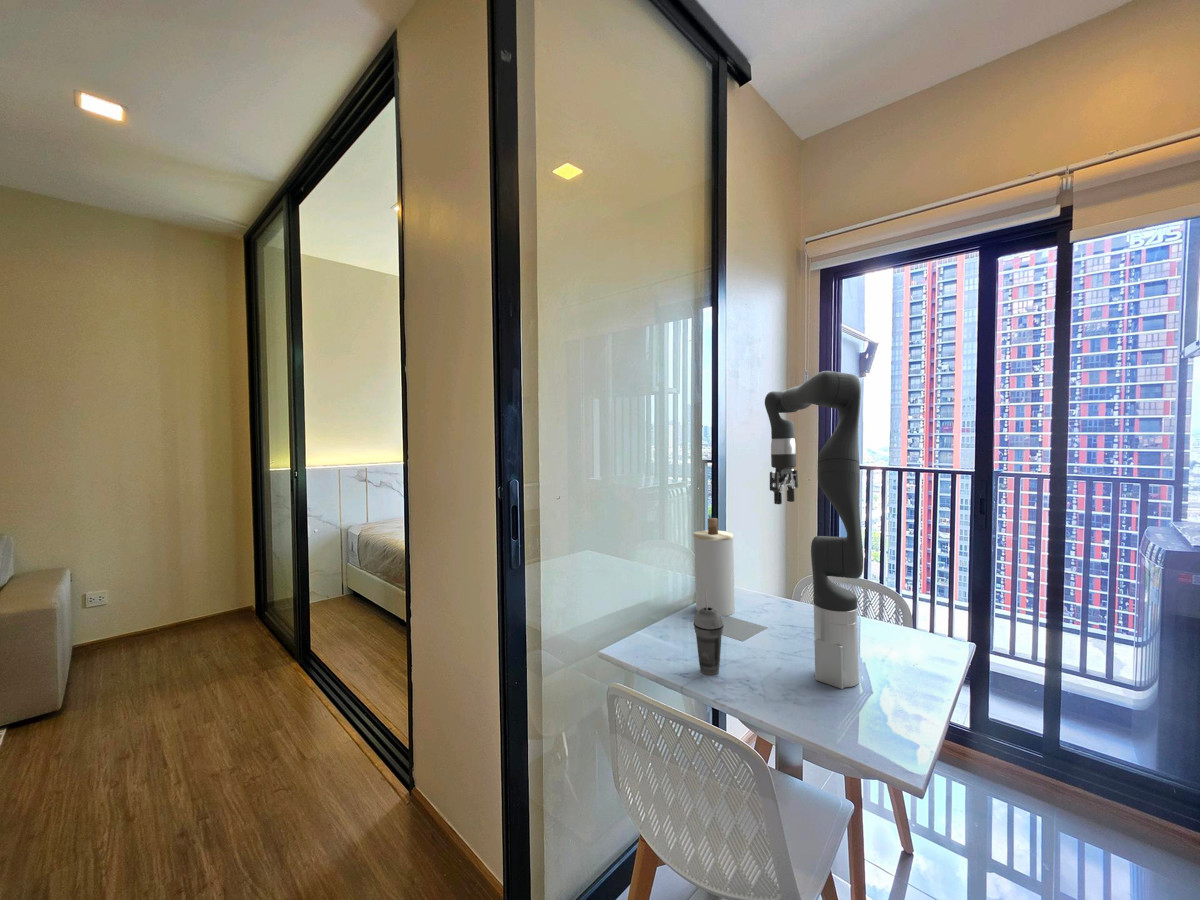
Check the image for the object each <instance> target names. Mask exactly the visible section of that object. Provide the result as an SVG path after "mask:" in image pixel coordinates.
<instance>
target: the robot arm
mask: <svg viewBox="0 0 1200 900" xmlns="http://www.w3.org/2000/svg"><path fill="white" fill-rule="evenodd" d="M861 401H862V386H861V381H860V378H859V377H858V376H857V375H855V374H853V373H847V372H846V373H845V372H841V371H833V370H824V371H820V372H817V373H815V374H814V375H813V376H812V377H810V378H808V379H807V380H806V381H804V382H803V383H802V384H800V385H796V386H793V387H790V388H788V389H786V390H781V391H780V390H778V391H777V390H775V391H774V390H773V391H770V392H768V393H767V394H766V395H765V398H764V407H765V409H766V413H767V417H768V419H769V420H768V421H769V424H770V430H771V433H770V434H771V443H770V461H771V462H770V463H771V464H770V465H771V468H773V469H775V471H770V472H769V491H771V492H773V503H774V504H775V505H782V503H783V499H782V497H783V496H782V495H783V493H782V491H783V488H785V487H786V501H787V502H791V503H793V502H795V490H796V489H798V488H799V479H798V478H799V477H798V476H799V475H798V470H797V469H793V468H796V467H797V447H796V440H795V439H796V438H795V437H796V436H795V424H794V423H795V422H794V421H792V420H789V419H785V418H782V416H781V413H782V414H787V413H789V414H791V413H797V412H798V411H800V410H801V411H802V410H805V409H807V408H809V407H810V406H812V405H816V406H818V407H821V408H829V409H836V410H837V411H838V412H837V413H838V417H837V424H836V426H835V427H836V428H835V429H834V431H833V432H832V434H831V436H829V439H828V440H827V441H826V442H825V444H824V445H823V447H822V448H821V450H820V451H819V453H818V456H817V482H818V485H819V487H820V489H821V491H822V493H823V495H825V497H826V498H827V500H828V501H829V502H830V504H831V505H832V506H833V508H834V509H835V511H836V513H837V514H838V516H839V518H840V519H841V521H842V523H843V526H844V529H845V532H846V536H844V537H843V536H830V535H829V536H828V535H826V536H825V535H817V536H814V537H813V539H812V541H811V545H810V558H811V569H812V586H813V587H812V588H813V589H812V590H813V591H812V593H813V595H812V596H813V597H812V598H813V601H812V602H813V637H814V640H813V641H814V642H813V644H814V677H815V678H814V679H815V681H818V682H821V683H824V684H827V685H829V686H832V687H835V688H838V689H841V690H844V689H845V688H851V687H855V686H857V685H859V682H860V677H859V676H860V673H859V672H860V669H859V667H860V666H859V637H858V636H859V631H858V629H859V628H858V627H859V626H858V599H857V596H856V594H855V593H854V592H852V591H850V590H849V589H846V588H843V587H841V586H840V585H837V584H836V583H834V582H833V580H830V579H829V577H833V578H834V577H835V578H843V579H844V578H846V579H859V578H860V577H861V576H862V574H863V571H864V550H863V549H864V548H863V538H862V527H861V525H862V524H861V512H860V509H861V507H860V496H861V495H860V493H861V491H860V489H861V484H860V483H861V482H860V479H861V476H860V475H861V474H860V473H861V472H860V471H861V469H860V468H861V467H860V466H861V465H860V451H859V449H860V448H859V447H860V446H859V427H860V425H859V423H860V411H861Z"/></svg>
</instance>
